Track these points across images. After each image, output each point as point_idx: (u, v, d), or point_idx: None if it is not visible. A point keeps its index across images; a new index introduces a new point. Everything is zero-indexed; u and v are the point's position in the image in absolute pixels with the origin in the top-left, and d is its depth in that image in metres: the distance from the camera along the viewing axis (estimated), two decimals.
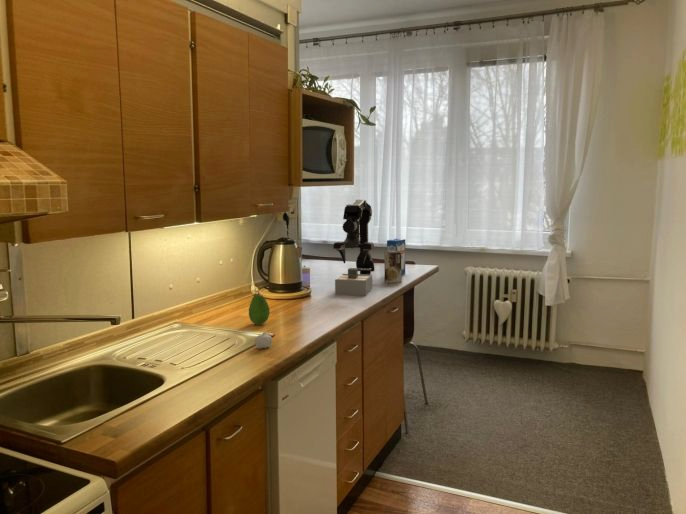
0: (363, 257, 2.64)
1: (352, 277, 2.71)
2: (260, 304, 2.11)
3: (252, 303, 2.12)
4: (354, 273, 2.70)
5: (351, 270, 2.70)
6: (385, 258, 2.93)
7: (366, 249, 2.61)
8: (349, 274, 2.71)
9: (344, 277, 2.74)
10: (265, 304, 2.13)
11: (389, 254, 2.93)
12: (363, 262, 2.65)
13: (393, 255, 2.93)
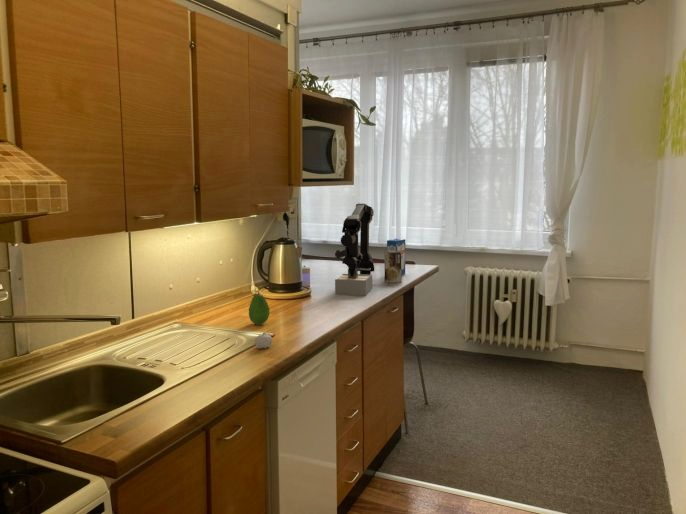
0: (349, 270, 2.70)
1: (352, 277, 2.71)
2: (260, 304, 2.11)
3: (252, 303, 2.12)
4: (354, 273, 2.70)
5: None
6: (385, 258, 2.93)
7: None
8: (349, 274, 2.71)
9: (344, 277, 2.74)
10: (265, 304, 2.13)
11: (389, 254, 2.93)
12: None
13: (393, 255, 2.93)
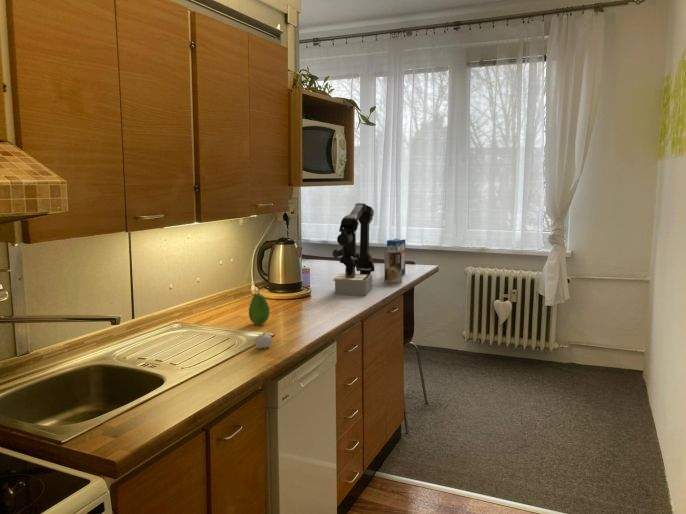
0: None
1: (350, 276, 2.71)
2: (260, 304, 2.11)
3: (252, 303, 2.12)
4: (352, 272, 2.70)
5: None
6: (385, 258, 2.93)
7: None
8: (347, 273, 2.71)
9: (342, 276, 2.74)
10: (265, 304, 2.13)
11: (389, 254, 2.93)
12: None
13: (393, 255, 2.93)
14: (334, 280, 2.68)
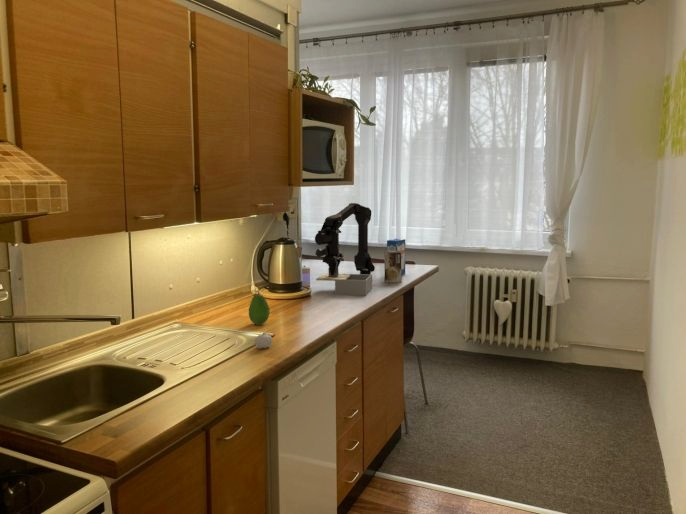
0: (329, 268, 2.72)
1: (333, 276, 2.73)
2: (260, 304, 2.11)
3: (252, 303, 2.12)
4: (335, 272, 2.72)
5: None
6: (385, 258, 2.93)
7: None
8: (330, 273, 2.73)
9: (325, 276, 2.76)
10: (265, 304, 2.13)
11: (389, 254, 2.93)
12: None
13: (393, 255, 2.93)
14: (317, 279, 2.69)
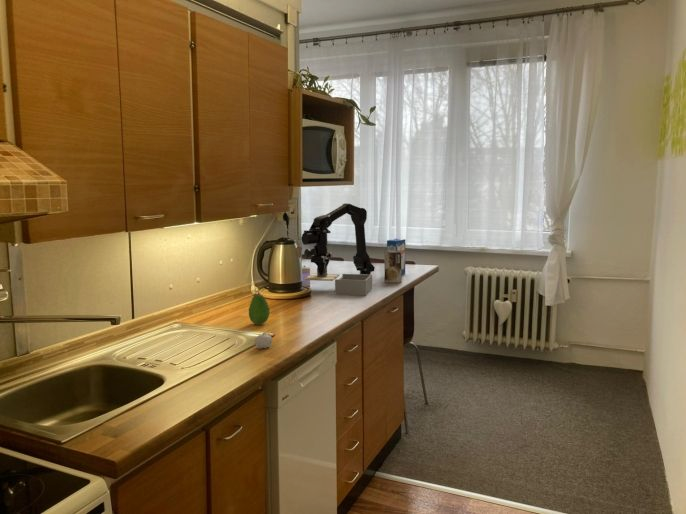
0: (318, 268, 2.73)
1: (321, 276, 2.74)
2: (260, 304, 2.11)
3: (252, 303, 2.12)
4: (323, 272, 2.74)
5: None
6: (385, 258, 2.93)
7: None
8: (318, 273, 2.74)
9: (314, 276, 2.77)
10: (265, 304, 2.13)
11: (389, 254, 2.93)
12: (319, 273, 2.74)
13: (393, 255, 2.93)
14: (305, 279, 2.71)
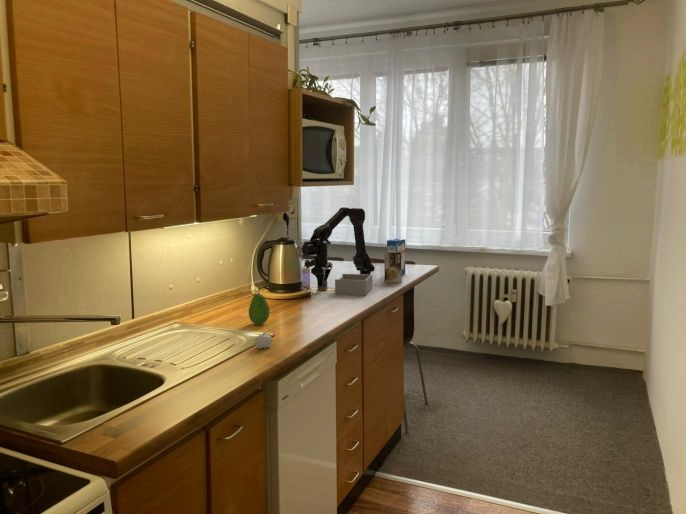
0: None
1: (322, 290, 2.75)
2: (260, 304, 2.11)
3: (252, 303, 2.12)
4: (323, 286, 2.75)
5: None
6: (385, 258, 2.93)
7: None
8: (318, 287, 2.75)
9: (314, 289, 2.78)
10: (265, 304, 2.13)
11: (389, 254, 2.93)
12: None
13: (393, 255, 2.93)
14: None
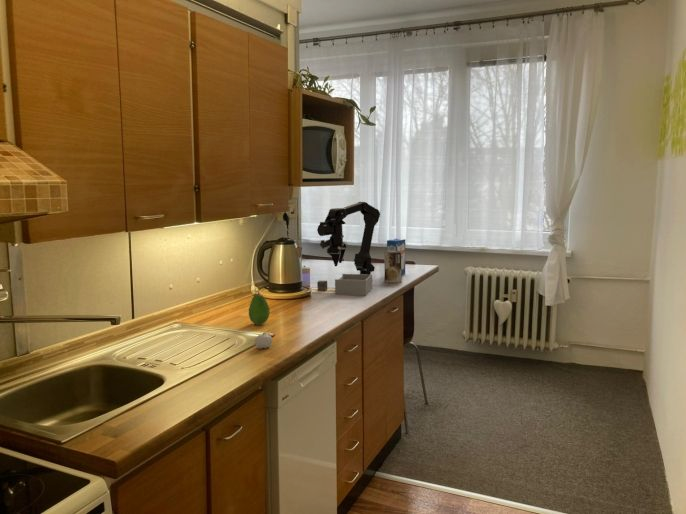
0: (333, 259, 2.77)
1: (322, 290, 2.75)
2: (260, 304, 2.11)
3: (252, 303, 2.12)
4: (323, 286, 2.75)
5: (320, 283, 2.75)
6: (385, 258, 2.93)
7: None
8: (318, 287, 2.75)
9: (314, 289, 2.78)
10: (265, 304, 2.13)
11: (389, 254, 2.93)
12: (334, 264, 2.77)
13: (393, 255, 2.93)
14: None
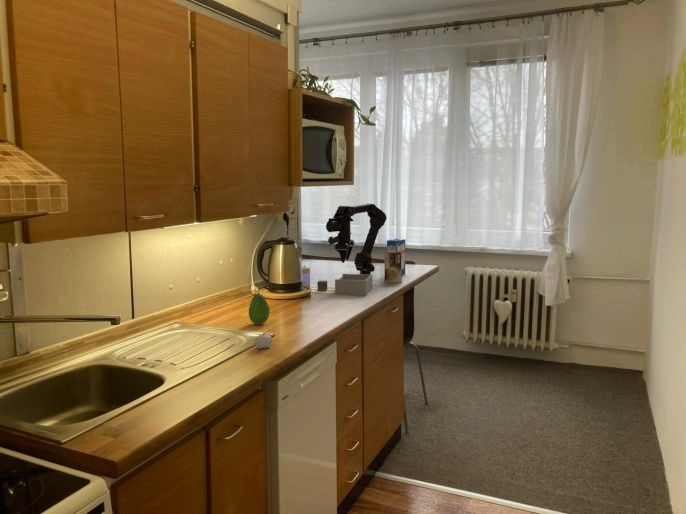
0: None
1: (322, 290, 2.75)
2: (260, 304, 2.11)
3: (252, 303, 2.12)
4: (323, 286, 2.75)
5: (320, 283, 2.75)
6: (385, 258, 2.93)
7: None
8: (319, 287, 2.75)
9: (314, 289, 2.78)
10: (265, 304, 2.13)
11: (389, 254, 2.93)
12: None
13: (393, 255, 2.93)
14: None
